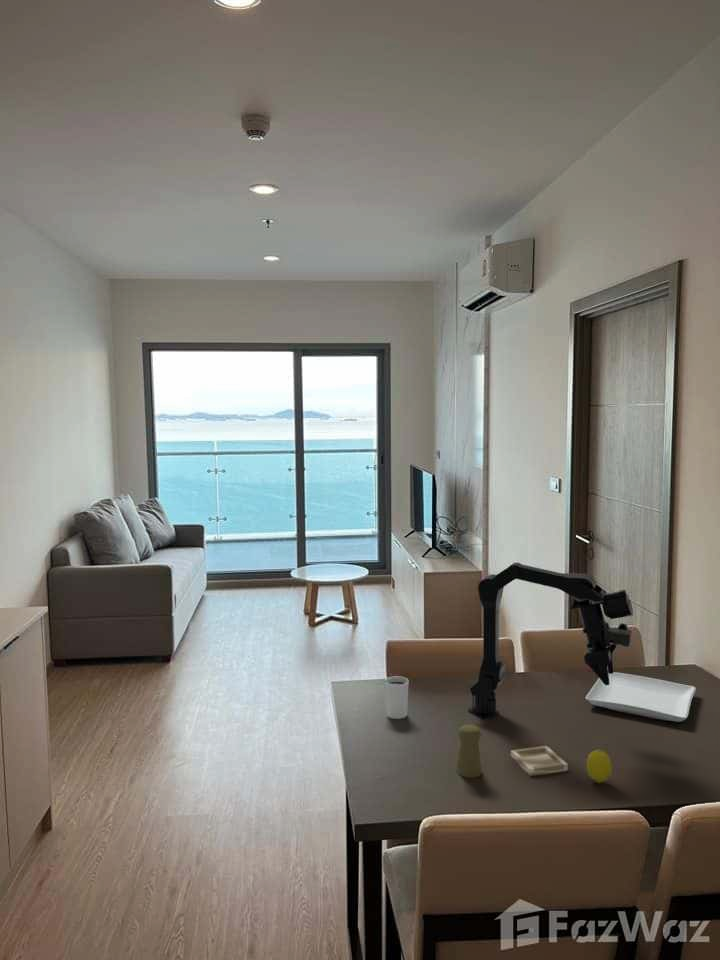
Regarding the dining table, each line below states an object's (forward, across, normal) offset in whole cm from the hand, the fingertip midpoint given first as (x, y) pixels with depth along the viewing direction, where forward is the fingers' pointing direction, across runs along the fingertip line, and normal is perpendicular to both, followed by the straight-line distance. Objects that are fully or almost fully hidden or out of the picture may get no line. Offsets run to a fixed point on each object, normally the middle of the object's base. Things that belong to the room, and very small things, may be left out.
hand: (609, 679), depth 191 cm
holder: (+11, -24, +17) cm, 31 cm away
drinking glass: (-1, -12, +58) cm, 59 cm away
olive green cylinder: (+7, -35, +31) cm, 47 cm away
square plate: (+17, +28, -2) cm, 33 cm away
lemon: (+15, -27, +4) cm, 31 cm away
